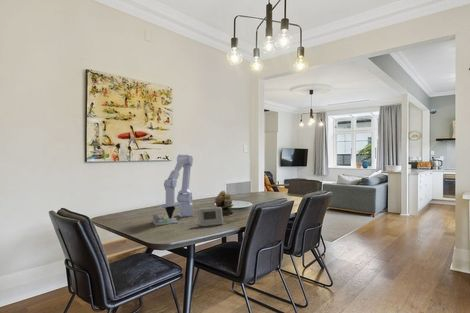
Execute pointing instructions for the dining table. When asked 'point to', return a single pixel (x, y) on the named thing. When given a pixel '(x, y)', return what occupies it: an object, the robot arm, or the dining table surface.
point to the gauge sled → (164, 217)
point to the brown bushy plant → (224, 202)
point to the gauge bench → (163, 220)
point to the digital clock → (210, 216)
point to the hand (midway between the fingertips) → (170, 218)
